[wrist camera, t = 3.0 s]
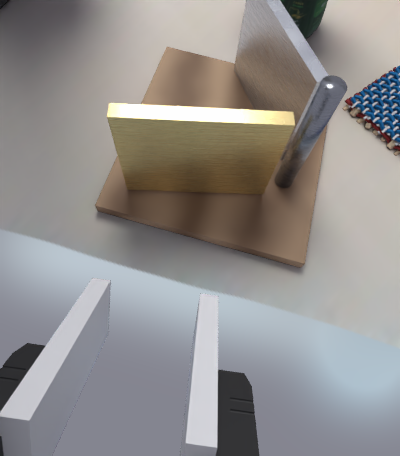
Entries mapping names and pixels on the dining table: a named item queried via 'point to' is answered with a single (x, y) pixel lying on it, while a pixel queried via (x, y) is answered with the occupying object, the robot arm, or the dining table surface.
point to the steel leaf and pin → (285, 79)
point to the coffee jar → (305, 14)
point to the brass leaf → (198, 147)
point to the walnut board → (219, 202)
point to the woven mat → (380, 107)
